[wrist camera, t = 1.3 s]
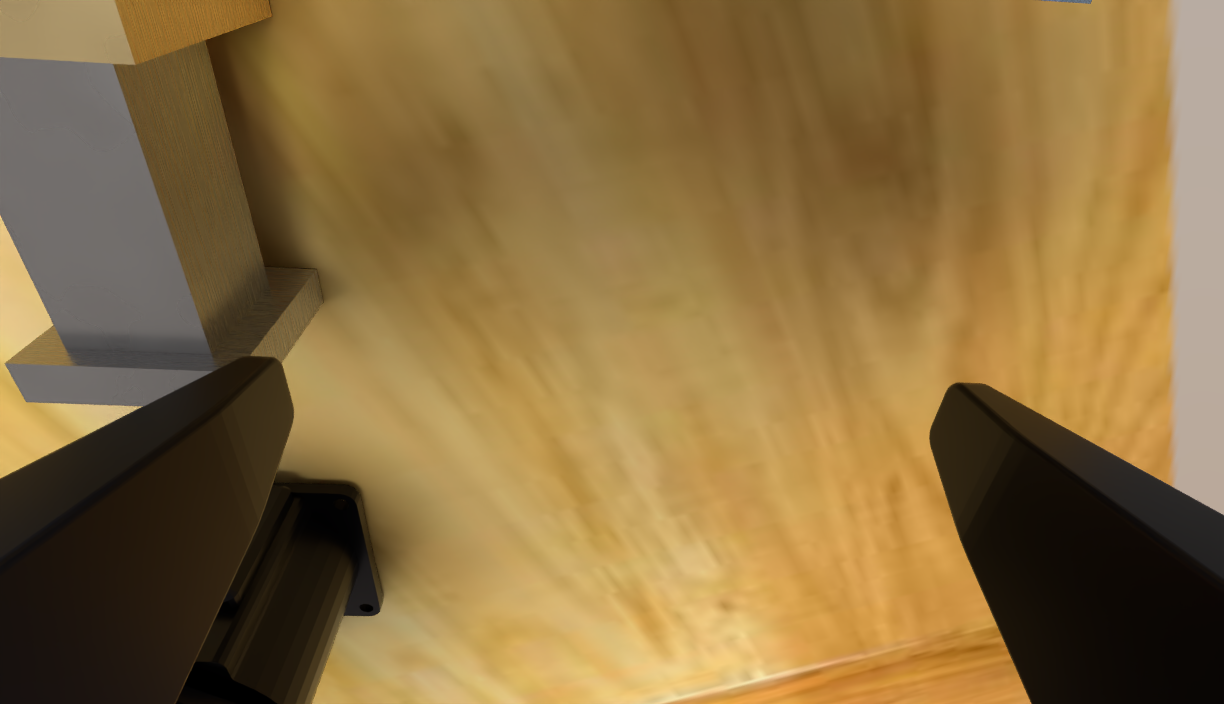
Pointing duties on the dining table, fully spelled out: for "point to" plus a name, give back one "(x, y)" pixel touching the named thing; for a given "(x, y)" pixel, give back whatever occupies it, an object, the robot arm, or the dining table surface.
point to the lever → (1074, 0)
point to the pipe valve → (133, 201)
